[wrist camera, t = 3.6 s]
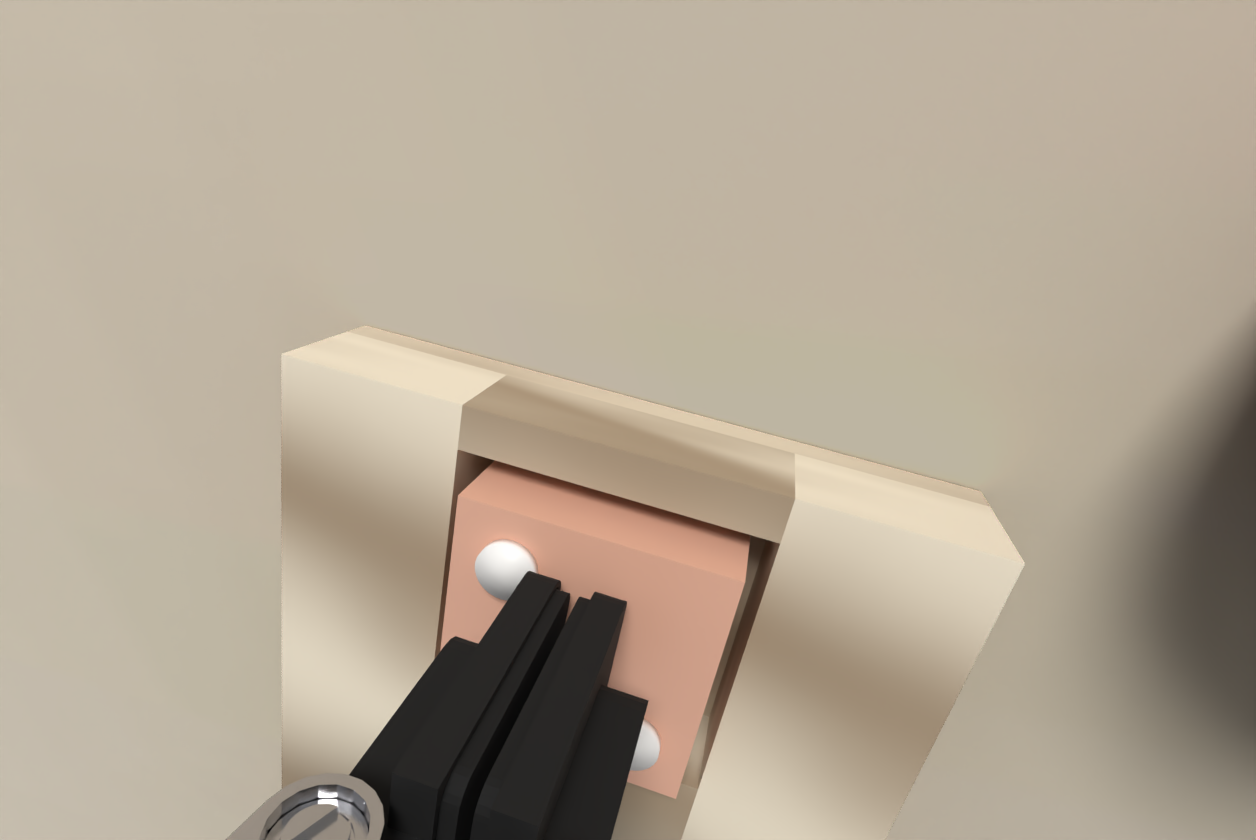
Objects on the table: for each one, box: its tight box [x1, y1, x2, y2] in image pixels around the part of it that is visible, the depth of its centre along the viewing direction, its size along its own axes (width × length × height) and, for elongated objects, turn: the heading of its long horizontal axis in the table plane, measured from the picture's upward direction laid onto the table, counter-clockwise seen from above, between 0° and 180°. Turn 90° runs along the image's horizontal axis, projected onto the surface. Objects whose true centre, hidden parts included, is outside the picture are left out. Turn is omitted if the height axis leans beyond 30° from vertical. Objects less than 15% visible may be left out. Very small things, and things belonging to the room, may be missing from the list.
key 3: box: [440, 460, 751, 799], centre depth 12 cm, size 5×5×3 cm
